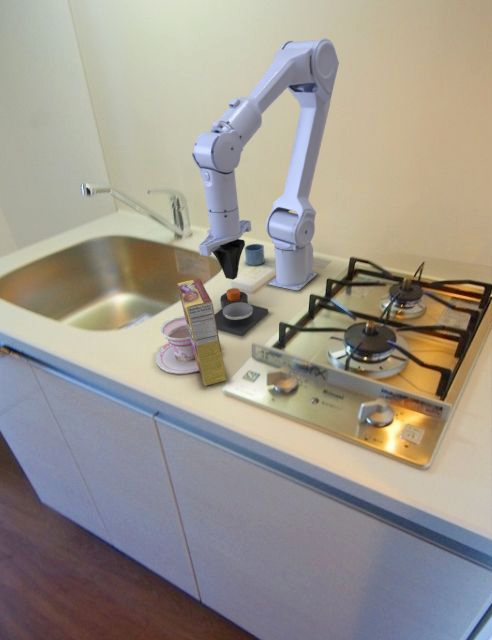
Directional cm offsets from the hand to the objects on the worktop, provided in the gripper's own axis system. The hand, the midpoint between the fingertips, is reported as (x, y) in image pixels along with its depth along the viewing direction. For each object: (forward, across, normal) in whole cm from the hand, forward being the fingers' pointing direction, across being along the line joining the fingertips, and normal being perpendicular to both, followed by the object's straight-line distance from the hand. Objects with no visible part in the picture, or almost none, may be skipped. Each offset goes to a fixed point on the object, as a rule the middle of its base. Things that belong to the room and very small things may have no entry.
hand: (231, 277), depth 87 cm
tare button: (+5, 0, 0) cm, 5 cm away
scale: (+7, +4, +3) cm, 9 cm away
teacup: (+8, +18, +2) cm, 20 cm away
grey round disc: (+4, +5, +4) cm, 8 cm away
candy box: (+8, +20, +8) cm, 23 cm away
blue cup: (+7, -23, -10) cm, 26 cm away
